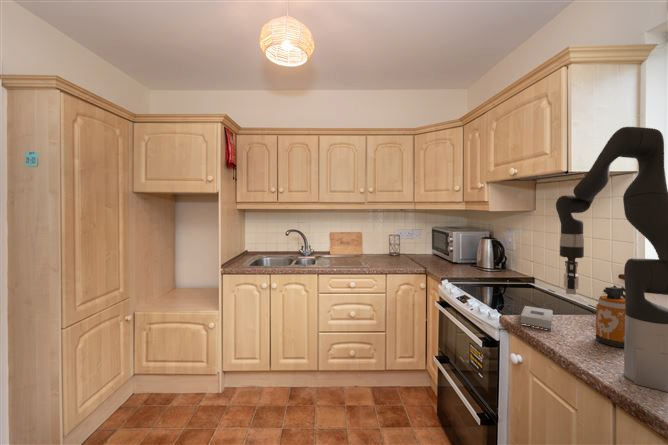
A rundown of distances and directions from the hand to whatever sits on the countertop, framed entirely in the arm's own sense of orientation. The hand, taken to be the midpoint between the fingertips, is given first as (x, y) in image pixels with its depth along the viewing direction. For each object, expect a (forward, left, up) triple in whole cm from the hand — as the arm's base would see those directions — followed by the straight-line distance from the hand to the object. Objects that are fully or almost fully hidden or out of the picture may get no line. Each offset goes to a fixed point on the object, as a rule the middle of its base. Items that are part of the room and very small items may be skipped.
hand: (570, 287), depth 119 cm
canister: (-10, -12, -16) cm, 22 cm away
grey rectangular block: (-3, +11, -16) cm, 19 cm away
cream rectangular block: (0, 0, -2) cm, 2 cm away
